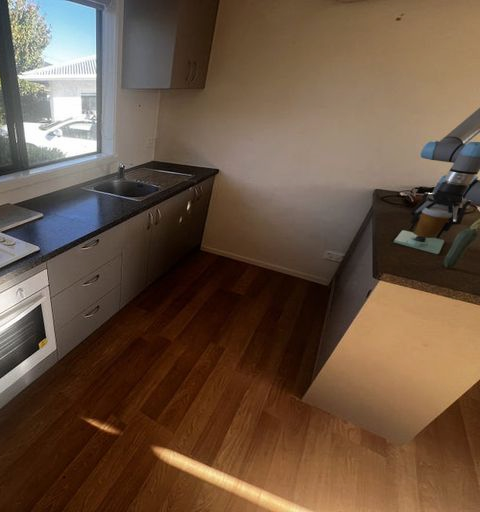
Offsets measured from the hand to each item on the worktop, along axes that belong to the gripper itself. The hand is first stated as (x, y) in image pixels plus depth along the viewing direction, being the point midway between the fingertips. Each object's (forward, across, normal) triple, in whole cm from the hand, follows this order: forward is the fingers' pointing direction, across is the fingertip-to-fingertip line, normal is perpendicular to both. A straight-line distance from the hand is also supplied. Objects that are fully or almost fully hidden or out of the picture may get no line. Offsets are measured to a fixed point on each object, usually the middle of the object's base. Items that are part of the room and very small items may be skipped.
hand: (423, 233), depth 128 cm
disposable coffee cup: (+1, 0, 0) cm, 1 cm away
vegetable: (+4, +10, -24) cm, 27 cm away
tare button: (+1, 0, -9) cm, 9 cm away
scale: (+4, 0, -2) cm, 5 cm away
